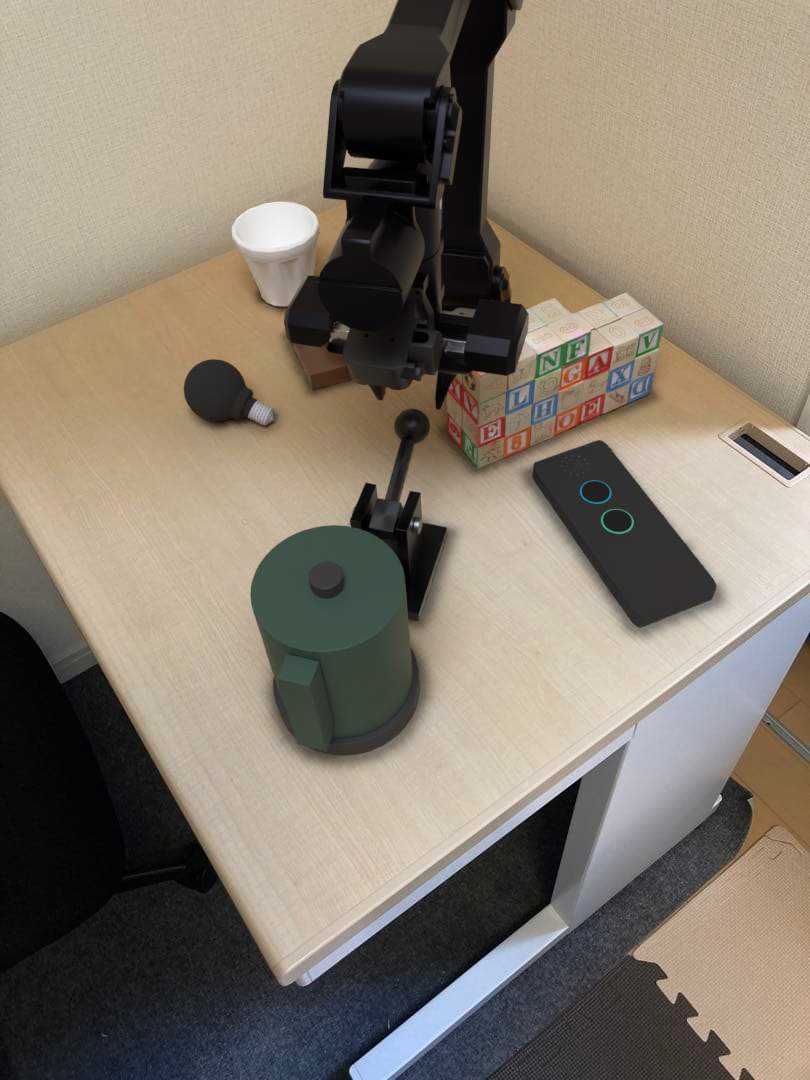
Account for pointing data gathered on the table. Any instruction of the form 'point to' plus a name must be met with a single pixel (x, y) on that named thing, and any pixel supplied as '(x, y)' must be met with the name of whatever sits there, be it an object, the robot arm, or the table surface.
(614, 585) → the smart home device
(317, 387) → the socket block
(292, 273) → the cup
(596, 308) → the stack of blocks
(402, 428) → the switch lever
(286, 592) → the kettle
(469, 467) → the table surface
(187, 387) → the light bulb
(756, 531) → the table surface
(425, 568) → the switch bracket
